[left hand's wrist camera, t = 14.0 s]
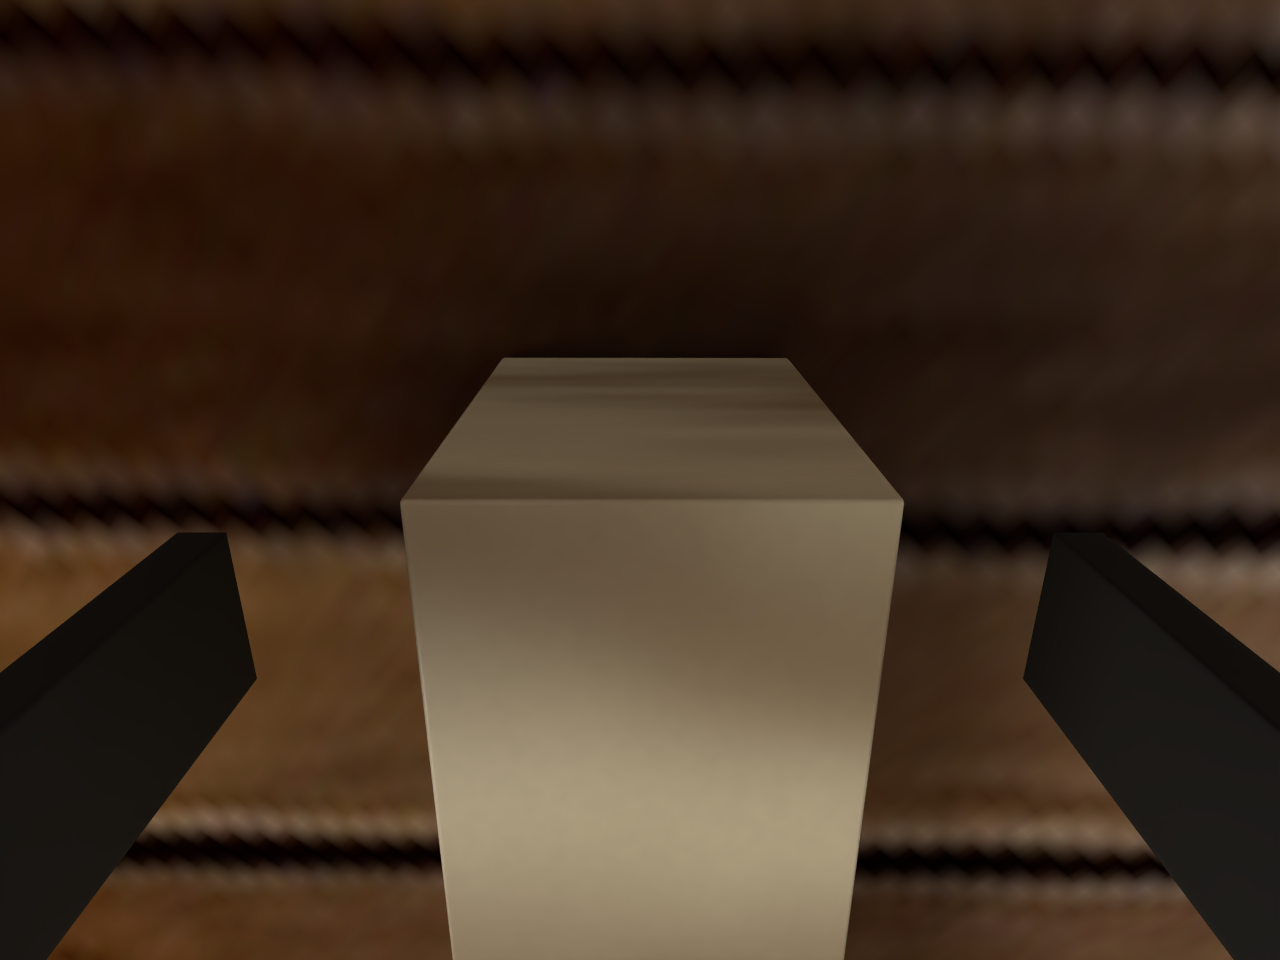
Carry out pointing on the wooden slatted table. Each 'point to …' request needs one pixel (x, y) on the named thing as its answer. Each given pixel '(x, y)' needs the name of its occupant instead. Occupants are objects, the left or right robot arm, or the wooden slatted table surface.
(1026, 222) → the wooden slatted table surface
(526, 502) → the birch plank
